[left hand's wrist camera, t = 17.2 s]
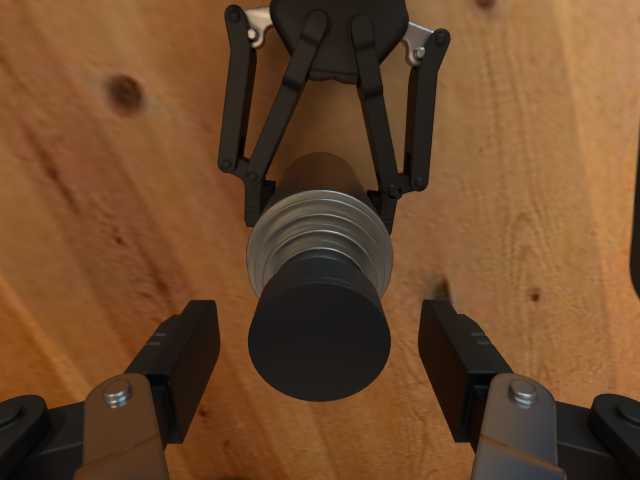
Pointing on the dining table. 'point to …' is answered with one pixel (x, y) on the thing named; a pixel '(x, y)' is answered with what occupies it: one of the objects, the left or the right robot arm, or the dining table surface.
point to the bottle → (319, 224)
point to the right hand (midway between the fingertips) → (313, 269)
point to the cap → (319, 331)
